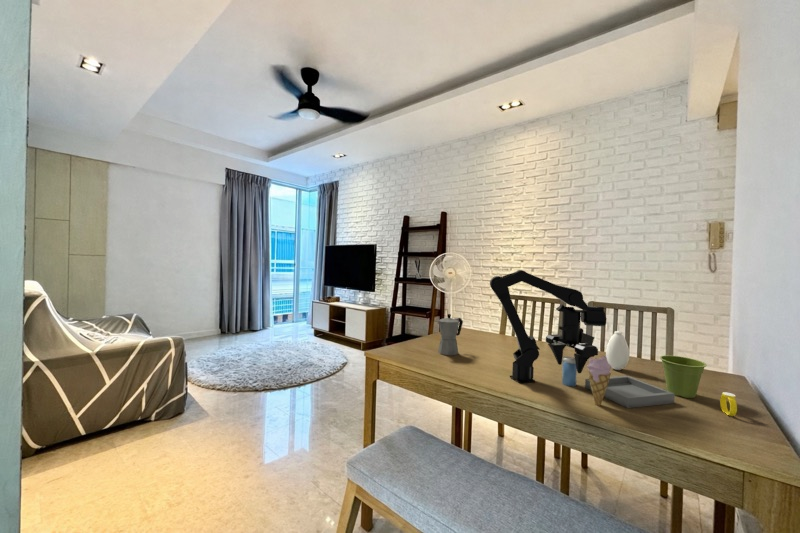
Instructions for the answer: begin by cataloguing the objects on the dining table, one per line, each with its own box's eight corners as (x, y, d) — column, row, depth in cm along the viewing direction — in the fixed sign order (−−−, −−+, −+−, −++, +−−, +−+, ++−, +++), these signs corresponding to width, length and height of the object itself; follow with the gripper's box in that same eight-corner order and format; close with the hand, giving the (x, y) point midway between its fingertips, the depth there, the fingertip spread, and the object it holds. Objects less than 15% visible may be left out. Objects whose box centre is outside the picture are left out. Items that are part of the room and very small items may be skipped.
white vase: (628, 368, 135) (629, 324, 135) (629, 374, 129) (630, 328, 128) (605, 365, 140) (607, 322, 139) (605, 370, 133) (607, 325, 133)
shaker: (568, 387, 114) (569, 360, 114) (559, 382, 118) (560, 356, 118) (579, 386, 115) (580, 359, 115) (569, 381, 119) (570, 356, 119)
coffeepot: (444, 357, 145) (445, 316, 145) (430, 352, 153) (431, 313, 152) (468, 352, 154) (470, 314, 154) (454, 347, 162) (455, 311, 161)
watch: (739, 420, 92) (741, 399, 92) (726, 418, 94) (728, 398, 93) (728, 410, 98) (730, 390, 97) (716, 408, 99) (717, 389, 99)
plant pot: (650, 390, 113) (651, 357, 113) (671, 385, 117) (672, 354, 117) (692, 404, 102) (693, 367, 102) (713, 398, 107) (714, 363, 106)
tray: (627, 408, 98) (628, 398, 98) (585, 387, 113) (585, 379, 113) (674, 403, 102) (674, 393, 102) (626, 384, 118) (627, 375, 118)
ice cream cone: (609, 411, 95) (611, 360, 95) (584, 406, 99) (586, 356, 98) (609, 403, 101) (611, 354, 101) (586, 398, 104) (587, 351, 104)
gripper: (612, 329, 109) (610, 376, 109) (570, 319, 127) (568, 359, 127) (584, 330, 106) (582, 378, 107) (545, 319, 124) (543, 361, 125)
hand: (569, 368), depth 116 cm, fingers open, 9 cm apart
